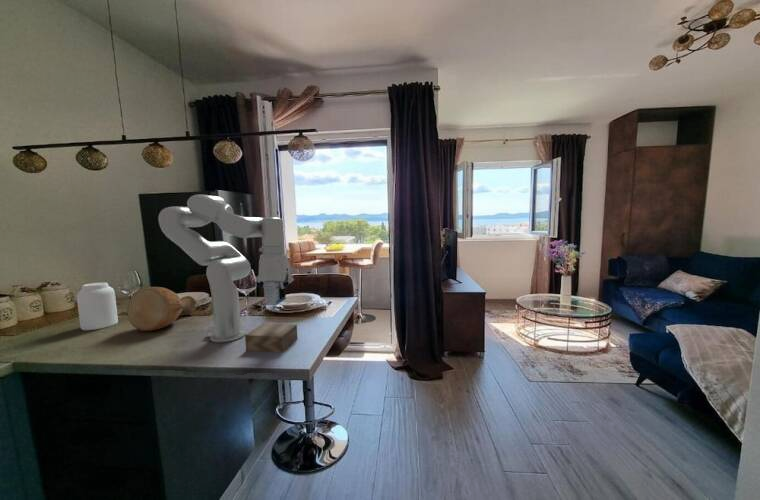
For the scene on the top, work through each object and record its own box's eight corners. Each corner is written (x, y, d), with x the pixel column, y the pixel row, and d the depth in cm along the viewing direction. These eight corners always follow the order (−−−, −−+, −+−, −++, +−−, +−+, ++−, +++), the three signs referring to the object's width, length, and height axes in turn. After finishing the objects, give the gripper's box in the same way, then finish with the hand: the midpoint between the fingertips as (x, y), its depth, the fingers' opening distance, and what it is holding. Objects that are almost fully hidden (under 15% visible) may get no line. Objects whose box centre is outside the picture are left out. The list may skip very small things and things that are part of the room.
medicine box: (275, 305, 104) (274, 282, 103) (264, 305, 105) (263, 281, 104) (286, 299, 112) (285, 277, 111) (275, 299, 113) (274, 277, 112)
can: (100, 330, 126) (94, 286, 124) (72, 331, 126) (66, 286, 124) (125, 321, 139) (121, 280, 137) (100, 321, 139) (95, 281, 137)
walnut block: (246, 351, 102) (245, 335, 102) (264, 337, 114) (263, 323, 114) (282, 353, 100) (281, 336, 100) (297, 339, 112) (296, 324, 112)
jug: (104, 309, 118) (159, 298, 148) (132, 345, 117) (181, 327, 147) (143, 278, 118) (190, 274, 148) (171, 314, 118) (212, 303, 148)
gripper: (246, 251, 103) (248, 300, 105) (291, 251, 102) (293, 301, 104) (256, 249, 111) (258, 295, 113) (299, 249, 110) (300, 296, 112)
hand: (275, 297), depth 108 cm, fingers closed on medicine box, 4 cm apart
